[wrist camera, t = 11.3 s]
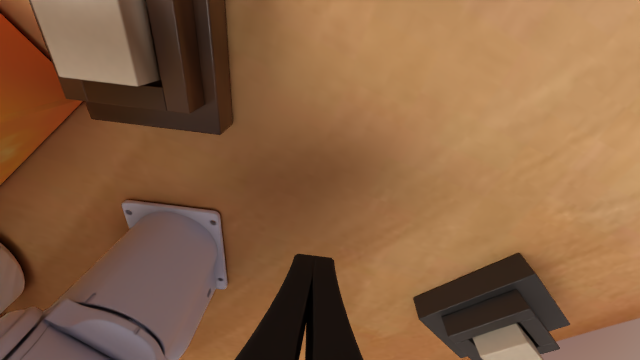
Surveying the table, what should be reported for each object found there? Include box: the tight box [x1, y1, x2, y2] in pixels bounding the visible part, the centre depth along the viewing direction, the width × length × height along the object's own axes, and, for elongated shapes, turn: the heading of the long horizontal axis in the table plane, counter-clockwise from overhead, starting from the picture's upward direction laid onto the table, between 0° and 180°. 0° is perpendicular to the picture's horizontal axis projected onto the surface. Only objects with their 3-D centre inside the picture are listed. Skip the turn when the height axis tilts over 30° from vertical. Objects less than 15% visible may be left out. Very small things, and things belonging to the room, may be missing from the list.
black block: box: [413, 253, 570, 360], centre depth 24 cm, size 10×8×4 cm
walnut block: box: [29, 0, 233, 135], centre depth 14 cm, size 10×8×4 cm
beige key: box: [31, 0, 160, 87], centre depth 12 cm, size 4×4×2 cm
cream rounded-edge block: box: [473, 323, 543, 360], centre depth 21 cm, size 4×4×2 cm
